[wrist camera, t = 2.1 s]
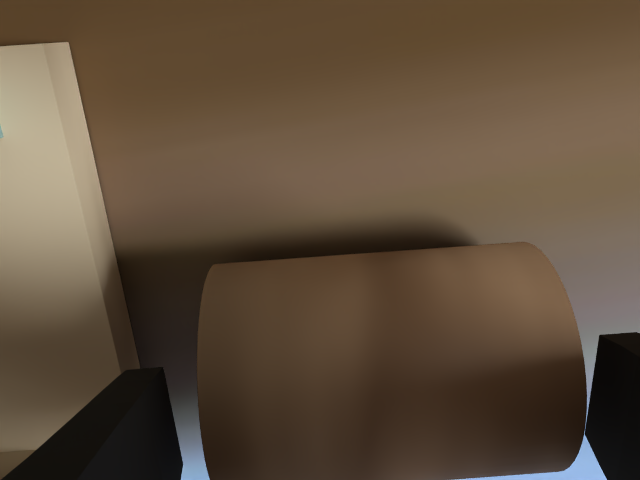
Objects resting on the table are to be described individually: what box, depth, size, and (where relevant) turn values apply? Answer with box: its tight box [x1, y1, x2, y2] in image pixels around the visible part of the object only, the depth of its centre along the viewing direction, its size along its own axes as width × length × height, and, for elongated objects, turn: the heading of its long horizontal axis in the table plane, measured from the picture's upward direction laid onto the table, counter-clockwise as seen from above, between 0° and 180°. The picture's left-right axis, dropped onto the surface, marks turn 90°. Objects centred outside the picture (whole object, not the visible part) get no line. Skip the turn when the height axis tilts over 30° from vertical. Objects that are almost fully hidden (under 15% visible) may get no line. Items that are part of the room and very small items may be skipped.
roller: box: [197, 242, 587, 480], centre depth 10 cm, size 4×6×4 cm
